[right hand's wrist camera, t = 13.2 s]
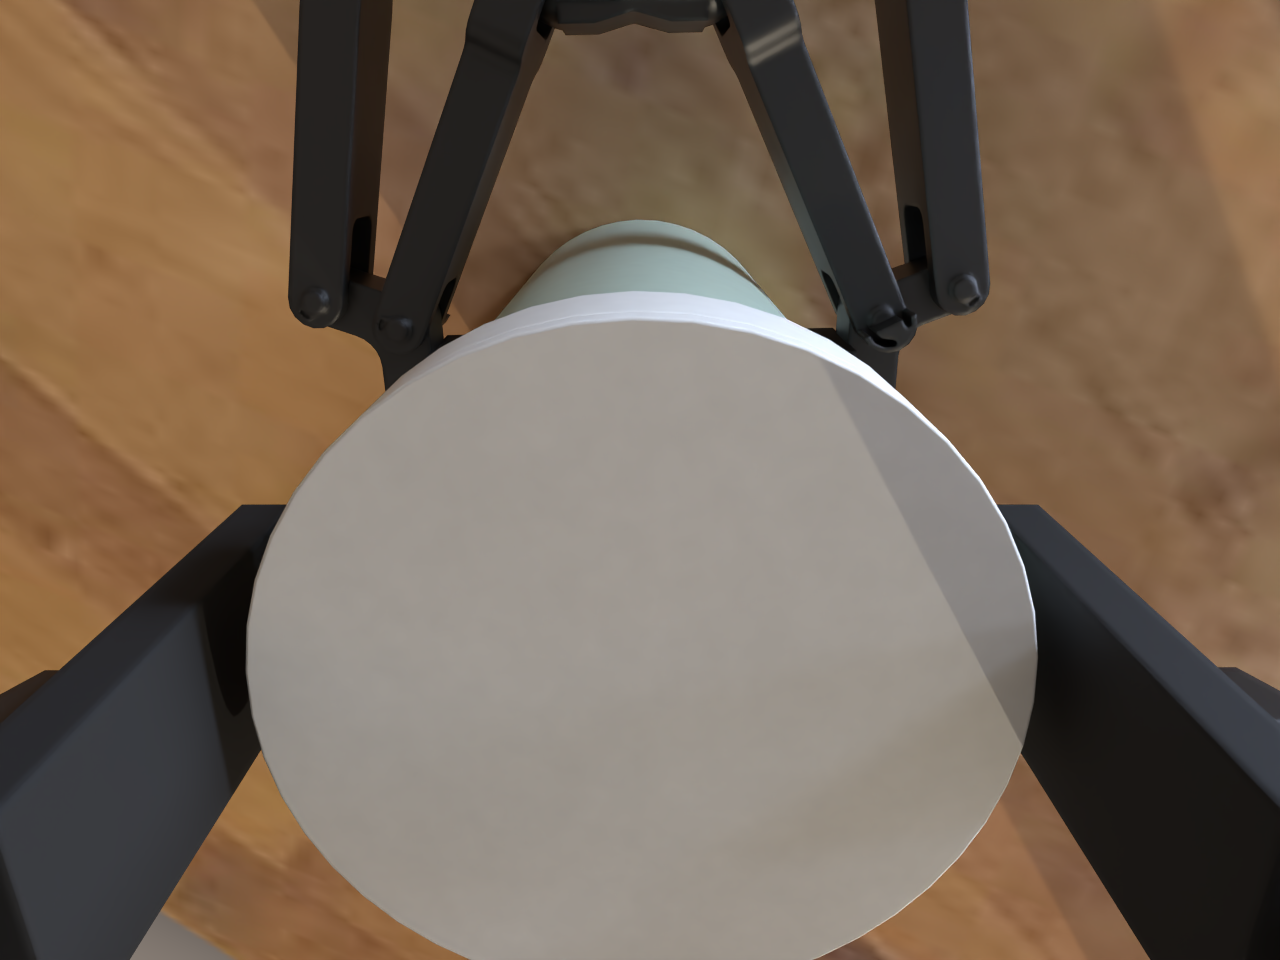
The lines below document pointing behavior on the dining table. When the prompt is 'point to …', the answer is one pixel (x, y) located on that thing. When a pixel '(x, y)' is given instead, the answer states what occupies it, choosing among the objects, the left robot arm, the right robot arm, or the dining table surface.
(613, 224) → the jar
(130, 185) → the dining table surface
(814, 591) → the lid
